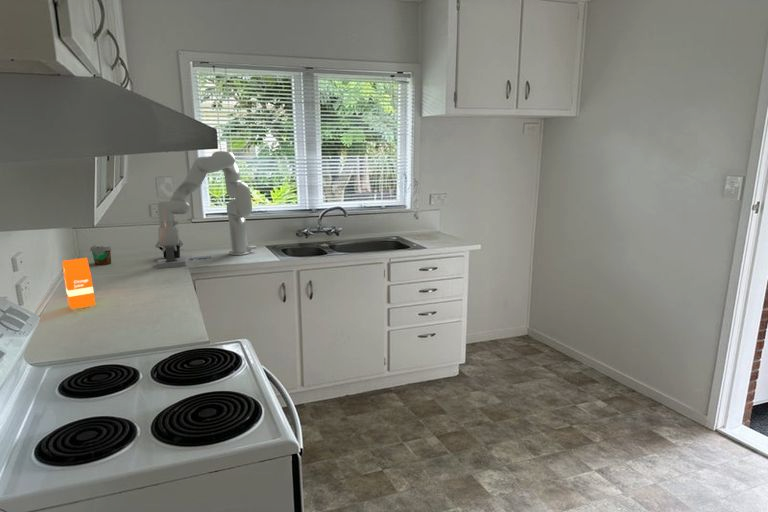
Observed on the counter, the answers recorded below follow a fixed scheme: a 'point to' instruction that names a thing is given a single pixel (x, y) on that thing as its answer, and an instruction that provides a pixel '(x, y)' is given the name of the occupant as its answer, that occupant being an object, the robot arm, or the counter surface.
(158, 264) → the outlet plate
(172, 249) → the charger
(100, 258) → the food container
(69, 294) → the orange juice
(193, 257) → the phone
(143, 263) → the counter surface
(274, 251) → the counter surface
